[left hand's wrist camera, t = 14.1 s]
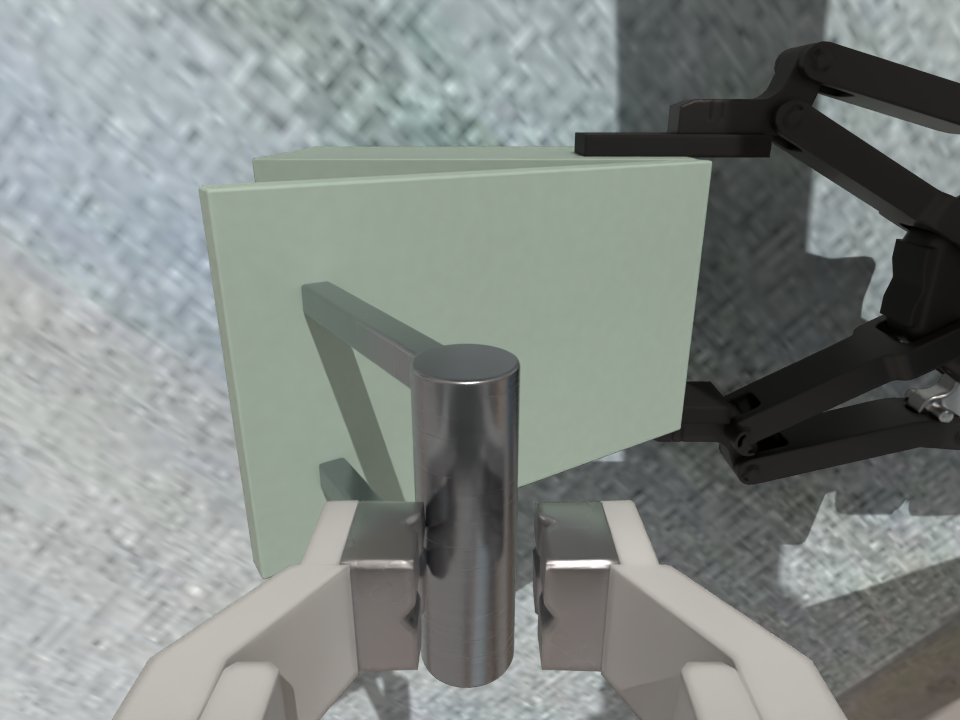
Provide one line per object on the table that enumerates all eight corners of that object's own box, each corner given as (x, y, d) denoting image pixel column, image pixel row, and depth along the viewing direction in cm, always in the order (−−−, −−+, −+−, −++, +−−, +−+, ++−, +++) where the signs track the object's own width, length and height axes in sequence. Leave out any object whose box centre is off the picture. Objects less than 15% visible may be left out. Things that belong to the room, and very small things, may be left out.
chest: (331, 344, 34) (282, 418, 25) (314, 146, 30) (251, 158, 22) (623, 344, 34) (668, 419, 25) (639, 146, 30) (697, 158, 22)
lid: (253, 562, 17) (389, 831, 11) (197, 185, 14) (347, 248, 7) (662, 421, 25) (883, 527, 19) (691, 159, 22) (973, 178, 15)
